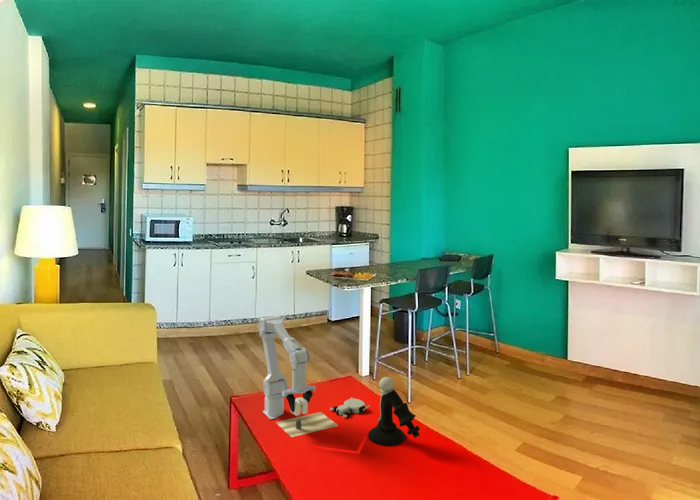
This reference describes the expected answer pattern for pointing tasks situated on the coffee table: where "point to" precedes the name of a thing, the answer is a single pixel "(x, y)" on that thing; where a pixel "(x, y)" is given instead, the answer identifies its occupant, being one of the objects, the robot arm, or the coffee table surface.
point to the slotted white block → (300, 406)
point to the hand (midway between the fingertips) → (298, 409)
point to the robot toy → (350, 407)
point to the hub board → (306, 424)
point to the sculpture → (386, 428)
